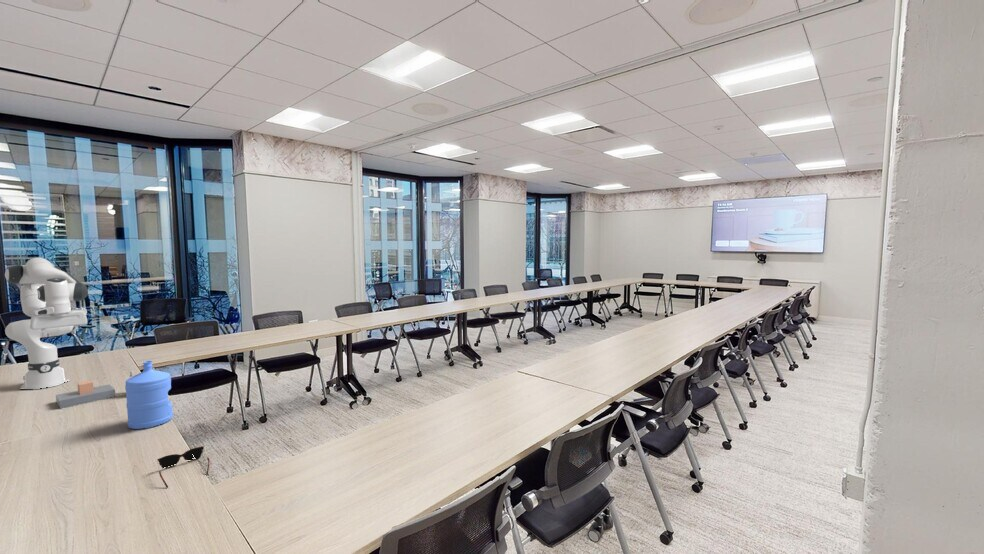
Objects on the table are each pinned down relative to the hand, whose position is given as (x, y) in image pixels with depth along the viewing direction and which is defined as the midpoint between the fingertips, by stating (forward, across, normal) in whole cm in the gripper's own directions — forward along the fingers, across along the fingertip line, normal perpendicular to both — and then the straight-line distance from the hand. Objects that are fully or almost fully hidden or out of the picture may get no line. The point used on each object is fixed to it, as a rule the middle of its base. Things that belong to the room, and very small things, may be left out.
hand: (60, 335), depth 208 cm
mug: (+33, -24, +24) cm, 48 cm away
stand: (+33, -6, +14) cm, 37 cm away
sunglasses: (+34, -14, +137) cm, 142 cm away
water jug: (+34, -18, +76) cm, 85 cm away
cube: (+29, -6, +14) cm, 33 cm away
